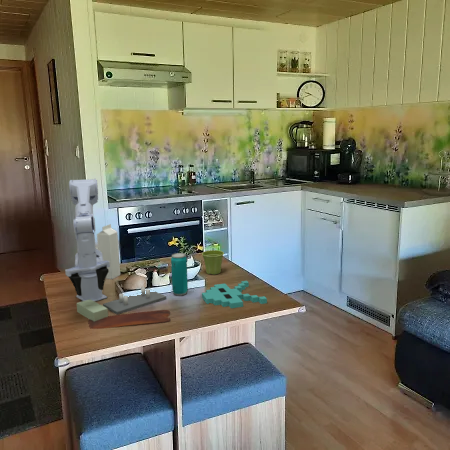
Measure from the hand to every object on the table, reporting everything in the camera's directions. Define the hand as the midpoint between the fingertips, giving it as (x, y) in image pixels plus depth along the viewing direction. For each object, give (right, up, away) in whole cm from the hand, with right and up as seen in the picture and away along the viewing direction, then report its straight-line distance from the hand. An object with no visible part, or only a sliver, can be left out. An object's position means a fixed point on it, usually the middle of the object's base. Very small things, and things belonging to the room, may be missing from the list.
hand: (90, 292), depth 150 cm
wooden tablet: (+14, -9, -3) cm, 17 cm away
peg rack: (+13, -6, +11) cm, 18 cm away
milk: (-4, 0, +41) cm, 41 cm away
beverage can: (+28, -4, +20) cm, 34 cm away
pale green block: (0, -8, +2) cm, 8 cm away
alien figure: (+47, -5, +15) cm, 49 cm away
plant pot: (+40, +2, +43) cm, 59 cm away
